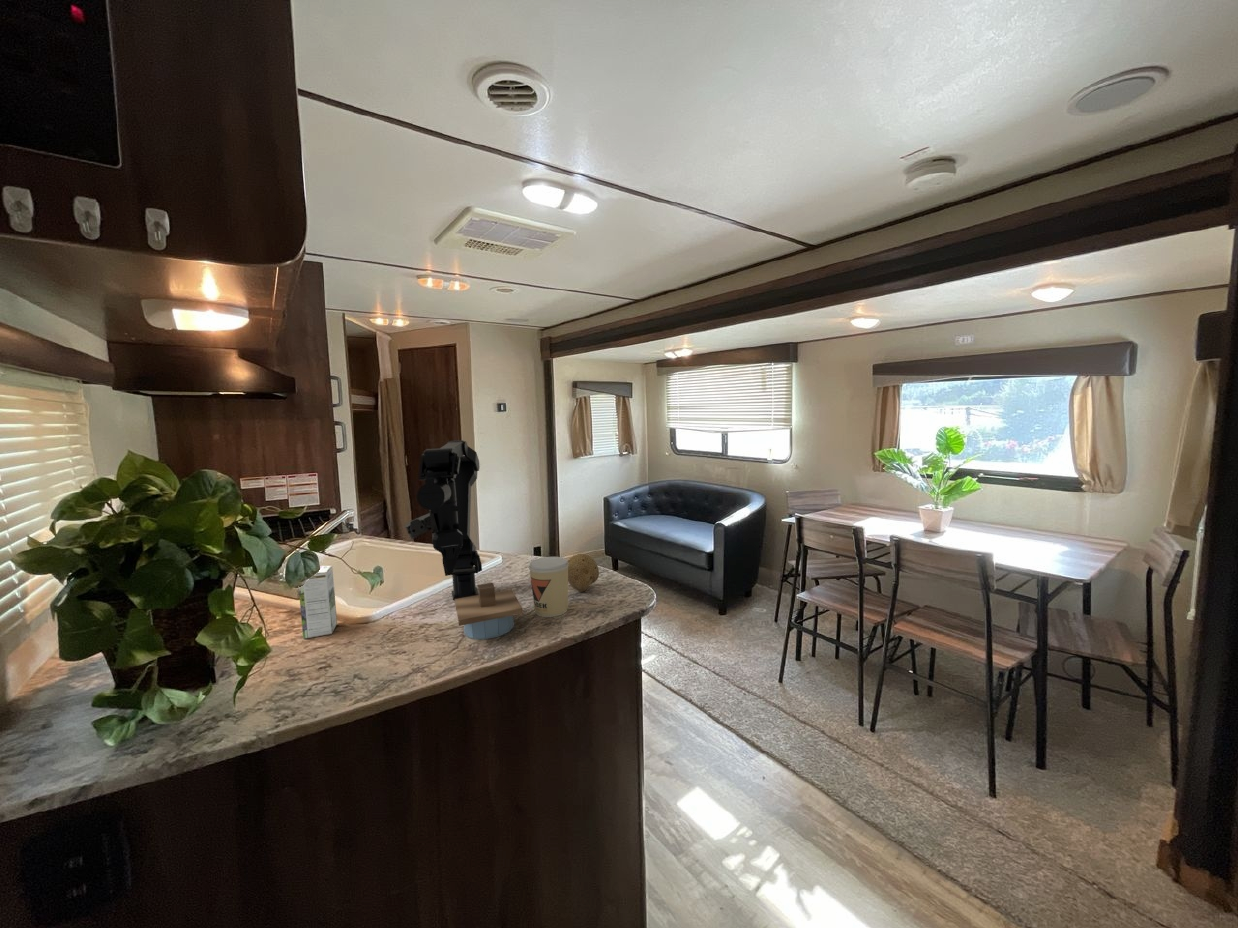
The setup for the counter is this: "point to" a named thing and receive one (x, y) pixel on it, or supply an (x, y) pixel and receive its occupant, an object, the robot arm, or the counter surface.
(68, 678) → the counter surface
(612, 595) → the counter surface
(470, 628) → the bowl
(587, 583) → the natural sponge
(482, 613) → the cover board
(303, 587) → the syrup box
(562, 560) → the coffee cup
